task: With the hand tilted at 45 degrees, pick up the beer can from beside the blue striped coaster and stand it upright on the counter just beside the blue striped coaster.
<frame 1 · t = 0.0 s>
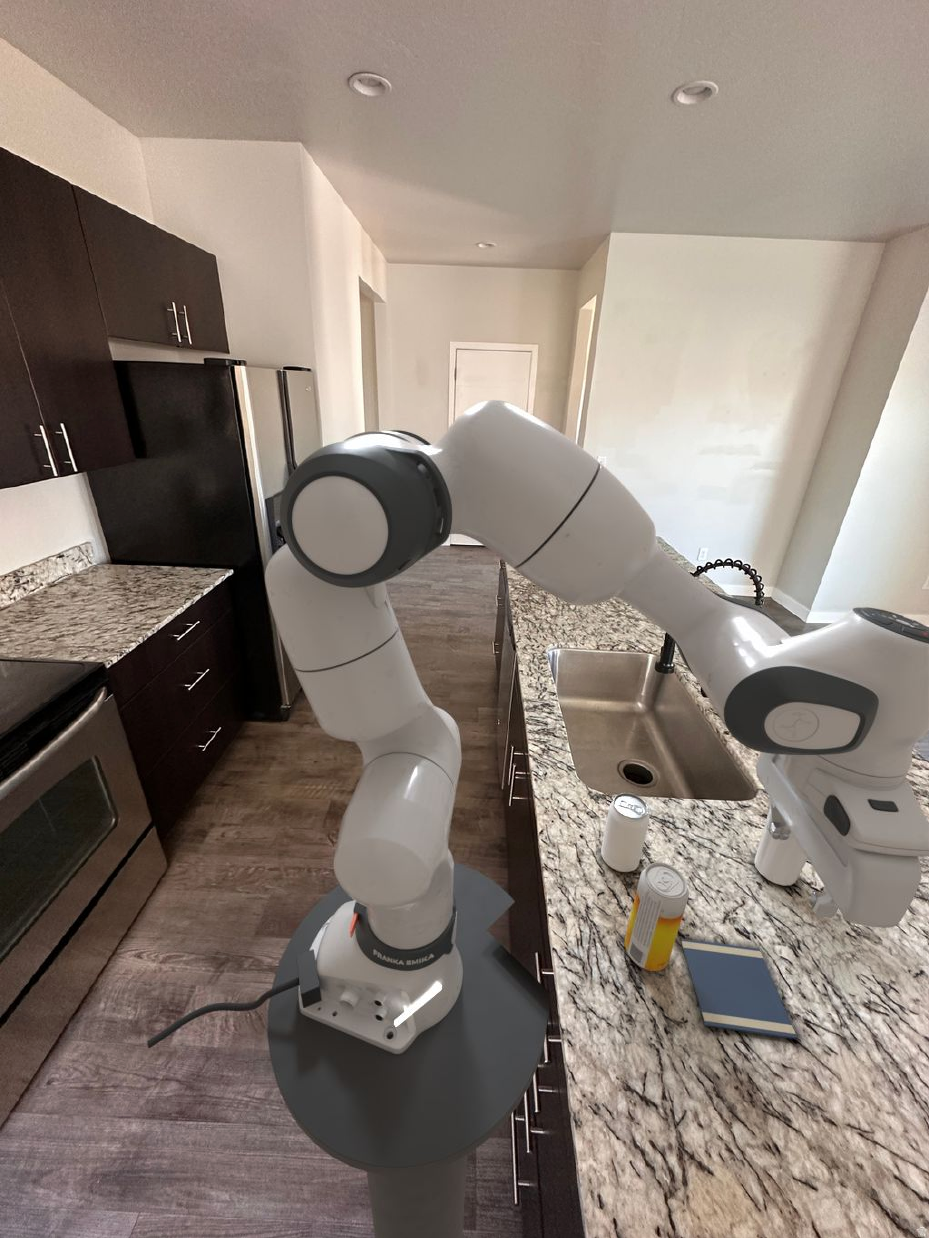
hand: (796, 869, 53), 26 cm above the countertop, tool pointing down, fingers open, 8 cm apart
can: (619, 858, 85), on the countertop
cup: (773, 871, 83), on the countertop
blue striped coaster: (733, 985, 66), on the countertop
beer can: (645, 952, 70), on the countertop
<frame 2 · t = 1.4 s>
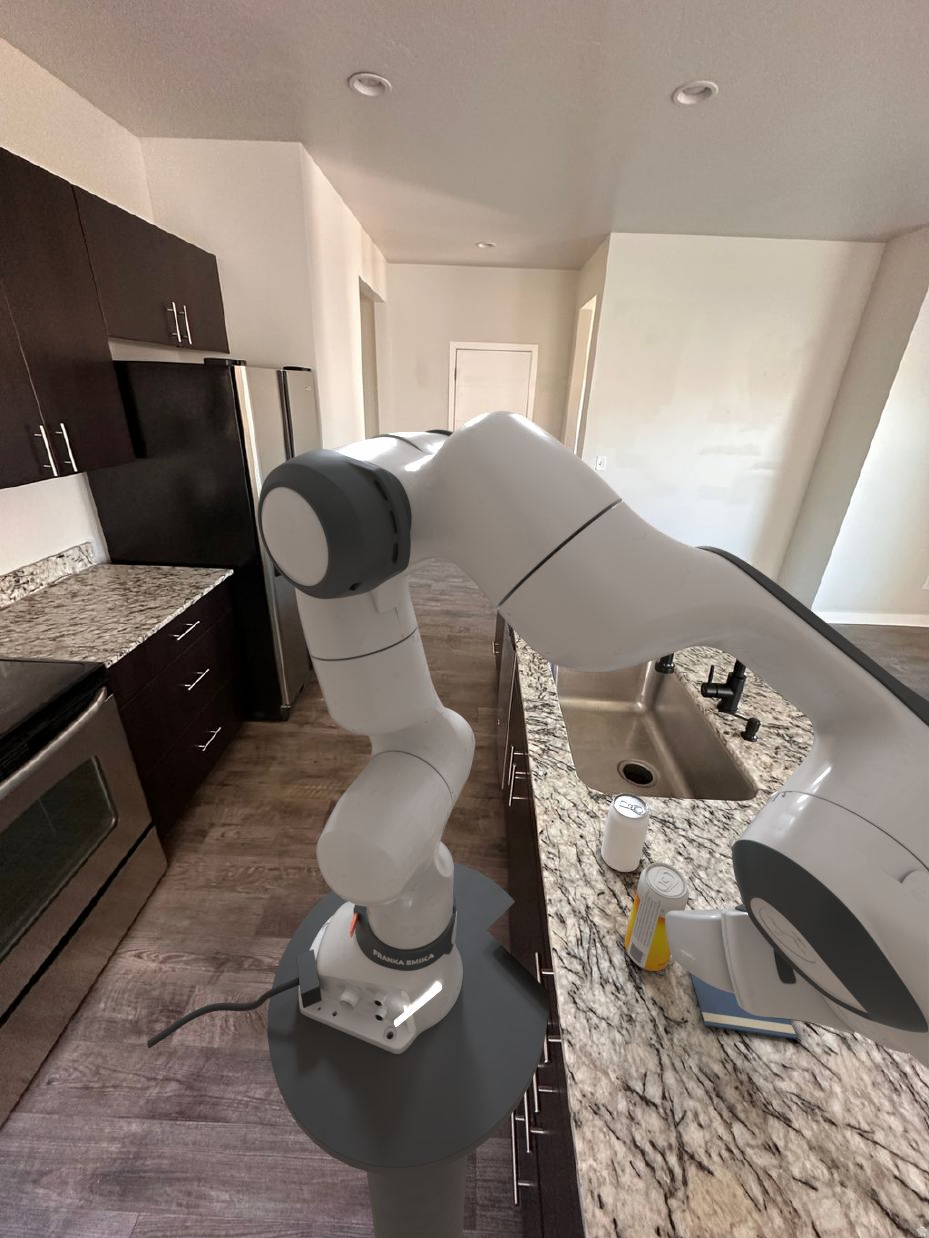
hand: (739, 917, 49), 25 cm above the countertop, tool tilted 45°, fingers open, 8 cm apart
nothing on the countertop moved.
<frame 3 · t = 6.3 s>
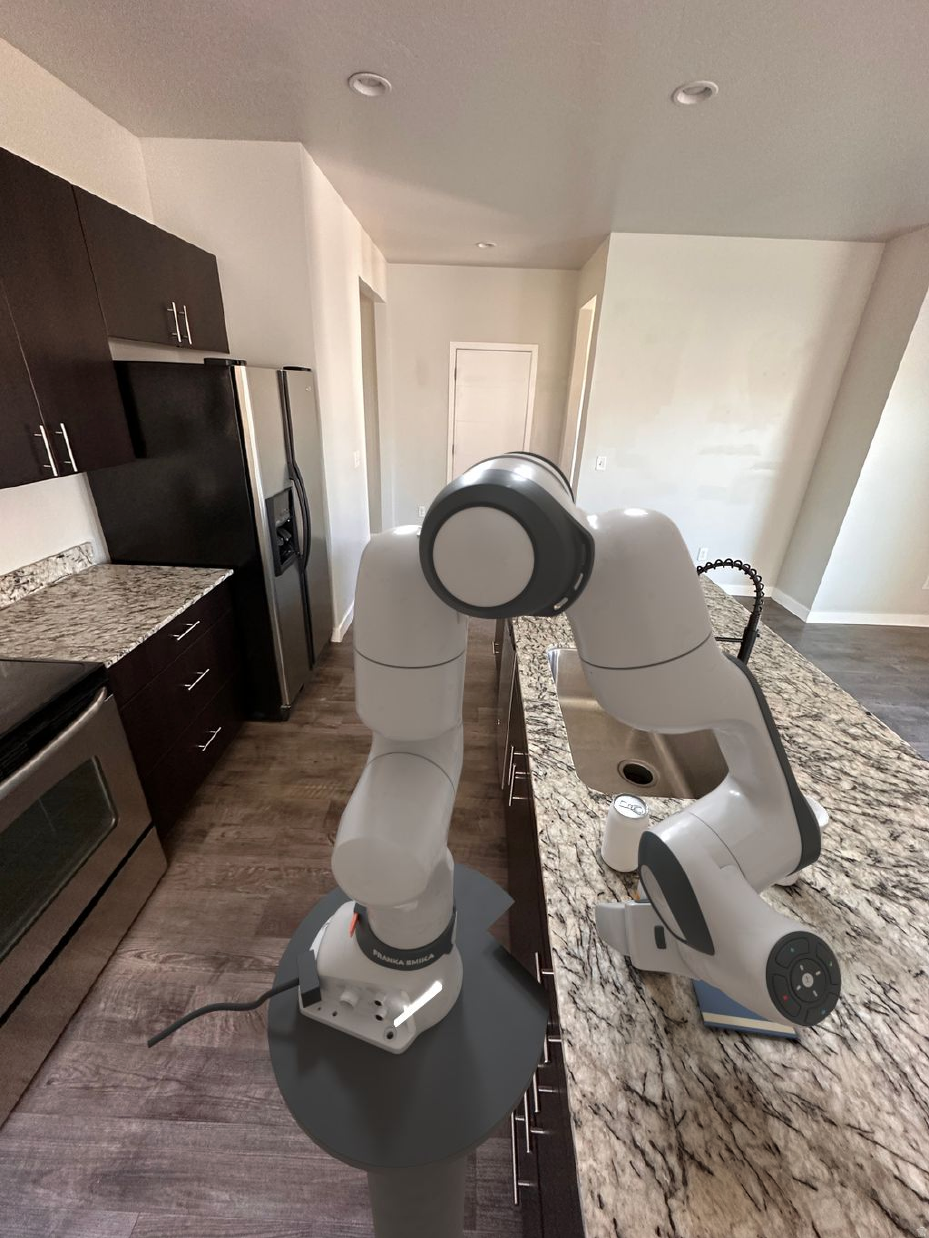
hand: (654, 908, 67), 8 cm above the countertop, tool tilted 45°, fingers closed on beer can, 6 cm apart
beer can: (645, 952, 70), on the countertop, touching gripper
everything else where it was.
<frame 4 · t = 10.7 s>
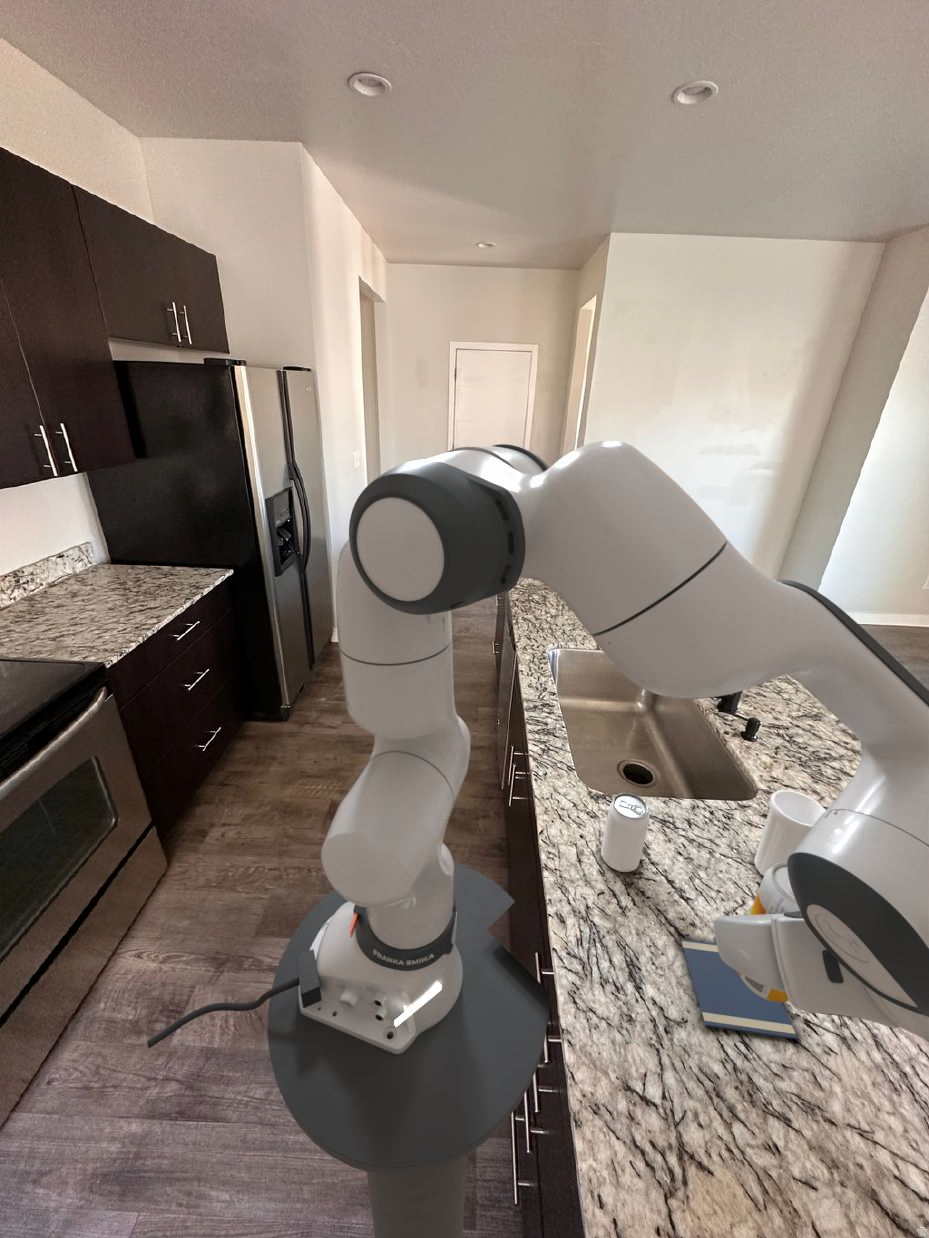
hand: (778, 921, 52), 22 cm above the countertop, tool tilted 45°, fingers closed on beer can, 6 cm apart
beer can: (761, 977, 55), point 13 cm above the countertop, touching gripper
everything else where it was.
when the fingers open (8 cm above the countertop, at t = 15.3 s): beer can stays where it is, on the countertop.
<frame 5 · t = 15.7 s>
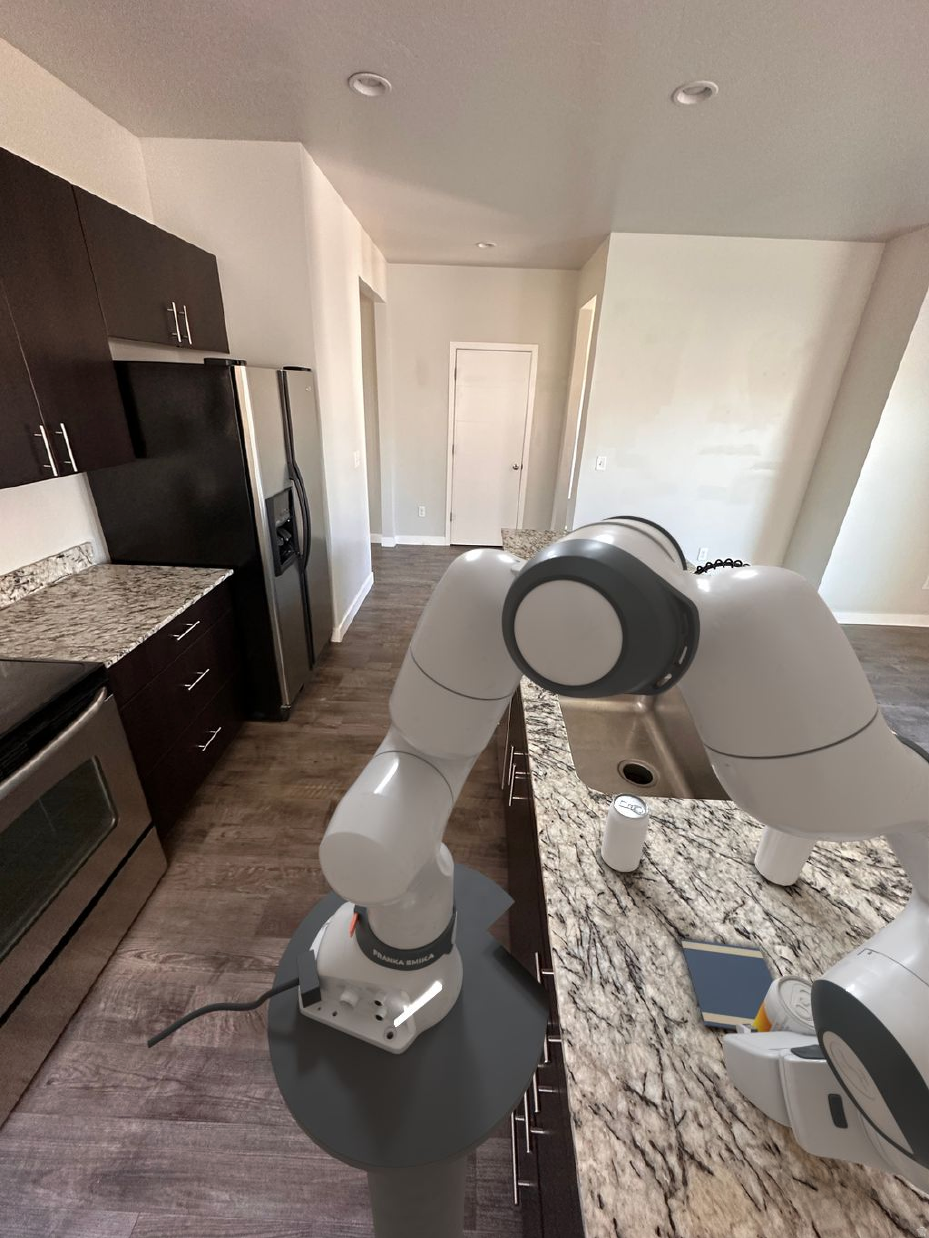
hand: (783, 1029, 54), 9 cm above the countertop, tool tilted 45°, fingers open, 8 cm apart
beer can: (765, 1078, 57), on the countertop
everything else where it was.
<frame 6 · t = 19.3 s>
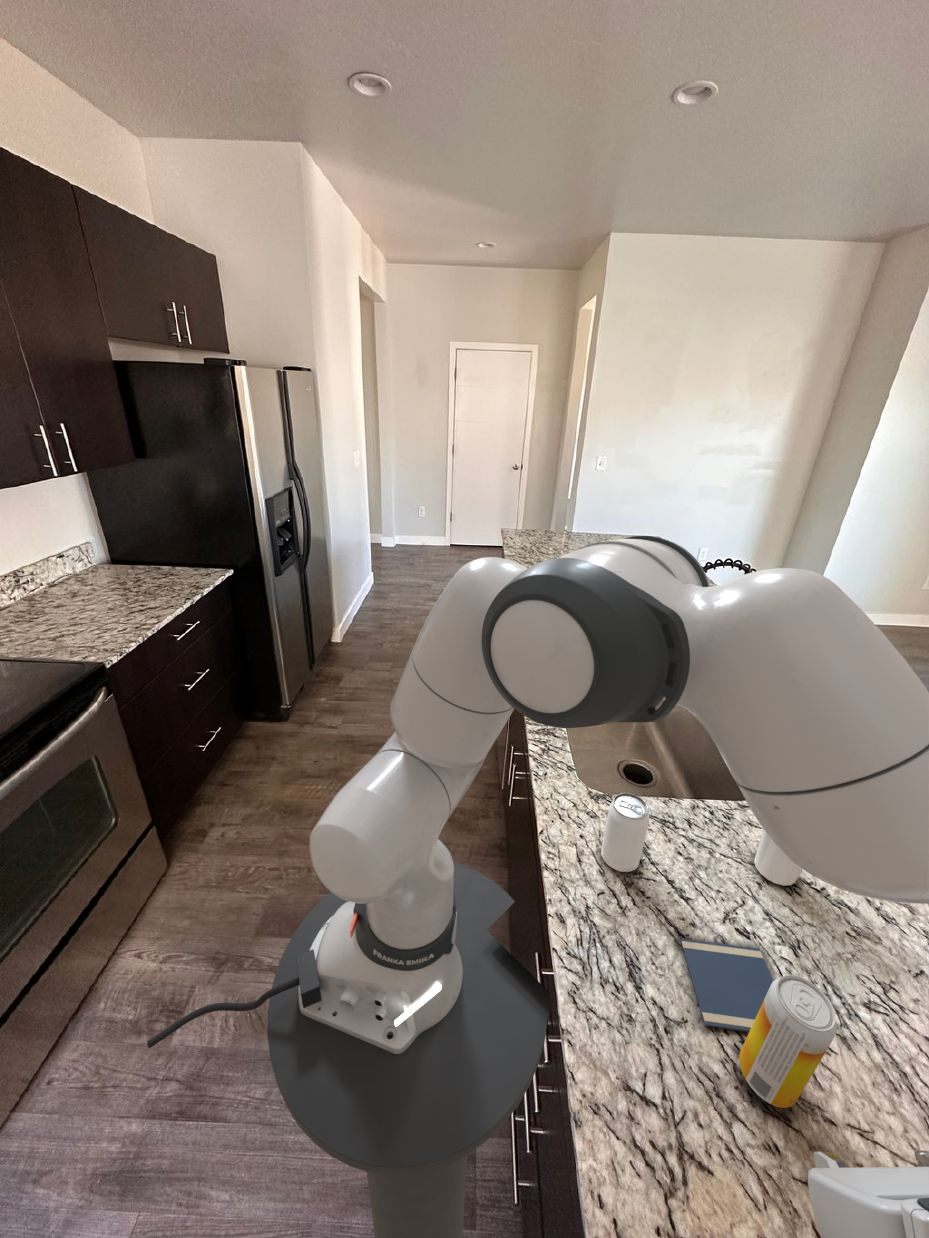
hand: (873, 1162, 42), 12 cm above the countertop, tool tilted 40°, fingers open, 8 cm apart
nothing on the countertop moved.
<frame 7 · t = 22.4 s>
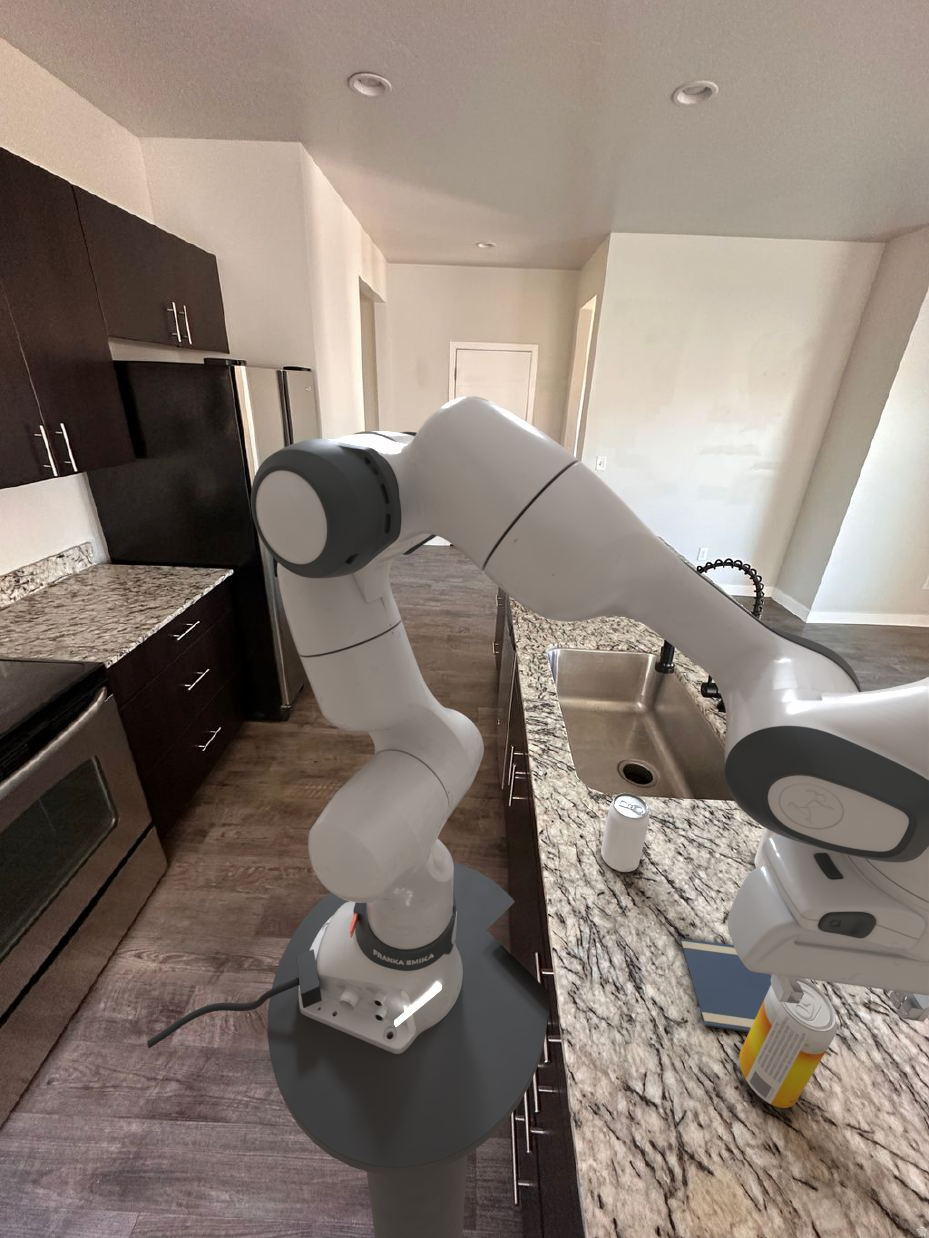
hand: (843, 1001, 40), 27 cm above the countertop, tool pointing down, fingers open, 8 cm apart
nothing on the countertop moved.
at the end: beer can inside the target area (1.2 cm from its centre), on the countertop; beer can tilted 0°; beer can 9.9 cm from the blue striped coaster (horizontally) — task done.
